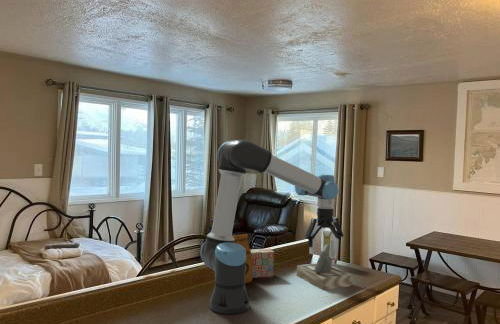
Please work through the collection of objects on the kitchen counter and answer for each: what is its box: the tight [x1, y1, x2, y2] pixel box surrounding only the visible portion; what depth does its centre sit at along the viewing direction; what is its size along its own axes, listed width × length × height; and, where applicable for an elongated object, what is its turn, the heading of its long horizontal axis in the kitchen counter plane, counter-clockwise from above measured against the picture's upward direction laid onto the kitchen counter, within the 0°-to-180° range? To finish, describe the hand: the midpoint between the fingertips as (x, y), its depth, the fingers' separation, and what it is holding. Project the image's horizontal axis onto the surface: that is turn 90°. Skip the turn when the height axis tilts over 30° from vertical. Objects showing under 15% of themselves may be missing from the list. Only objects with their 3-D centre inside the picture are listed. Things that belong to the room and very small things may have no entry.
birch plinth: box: [296, 262, 353, 291], centre depth 189 cm, size 16×22×5 cm
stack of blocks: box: [250, 248, 275, 279], centre depth 193 cm, size 21×6×12 cm, turn 107°
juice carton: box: [320, 228, 339, 267], centre depth 216 cm, size 8×9×19 cm
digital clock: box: [314, 244, 332, 273], centre depth 188 cm, size 16×9×11 cm, turn 152°
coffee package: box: [232, 233, 253, 284], centre depth 182 cm, size 10×12×22 cm
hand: (323, 252), depth 188 cm, fingers open, 13 cm apart
